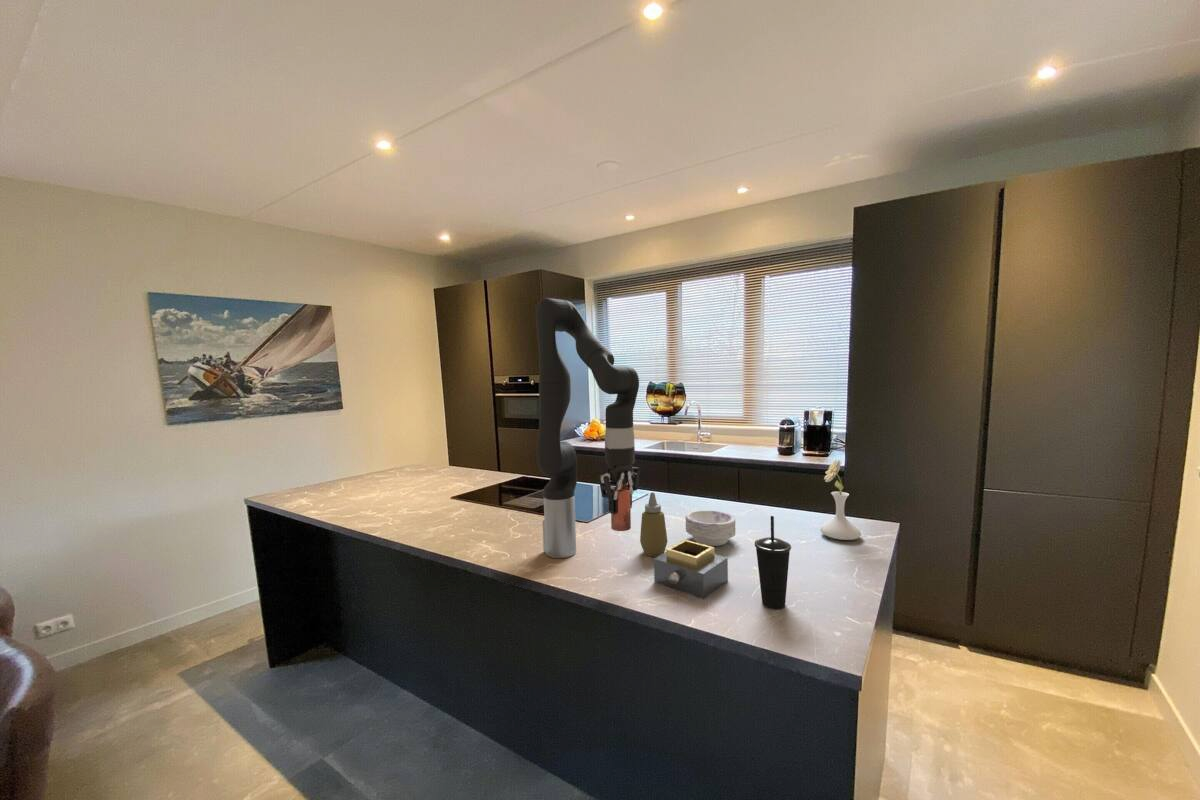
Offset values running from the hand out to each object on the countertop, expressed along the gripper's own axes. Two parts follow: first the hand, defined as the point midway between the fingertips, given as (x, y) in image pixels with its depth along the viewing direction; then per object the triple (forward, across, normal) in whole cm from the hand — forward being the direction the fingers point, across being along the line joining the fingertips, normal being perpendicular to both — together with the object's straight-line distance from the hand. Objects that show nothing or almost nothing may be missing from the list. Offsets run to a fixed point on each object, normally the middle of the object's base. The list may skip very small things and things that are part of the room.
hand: (620, 510), depth 113 cm
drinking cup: (+18, -12, +34) cm, 40 cm away
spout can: (+4, 0, 0) cm, 4 cm away
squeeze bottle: (+18, -19, -4) cm, 27 cm away
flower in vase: (+17, -65, +34) cm, 76 cm away
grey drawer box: (+18, -10, +14) cm, 25 cm away
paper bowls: (+18, -38, +4) cm, 42 cm away
